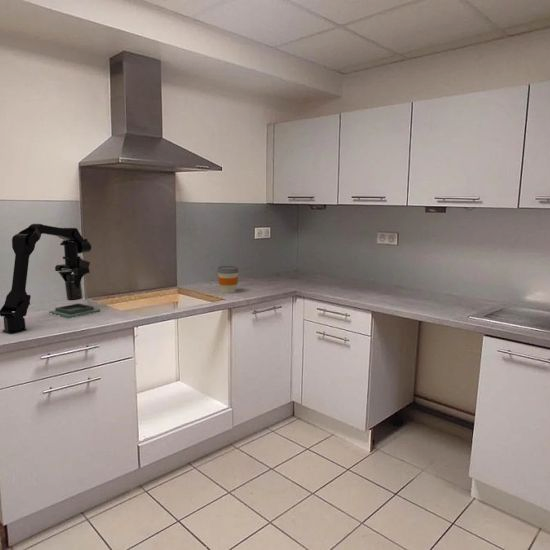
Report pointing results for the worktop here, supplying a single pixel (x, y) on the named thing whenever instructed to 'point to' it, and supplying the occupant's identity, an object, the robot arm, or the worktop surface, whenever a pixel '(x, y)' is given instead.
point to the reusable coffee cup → (228, 278)
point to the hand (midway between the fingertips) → (73, 286)
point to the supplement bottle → (72, 289)
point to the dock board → (74, 310)
